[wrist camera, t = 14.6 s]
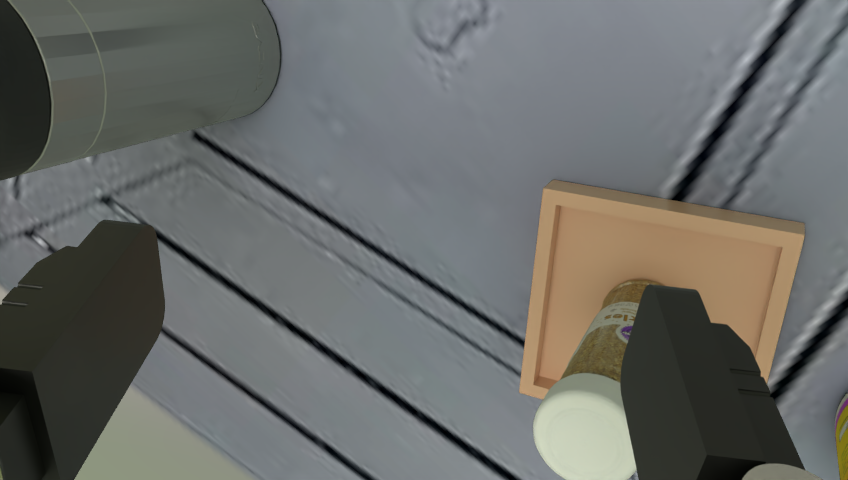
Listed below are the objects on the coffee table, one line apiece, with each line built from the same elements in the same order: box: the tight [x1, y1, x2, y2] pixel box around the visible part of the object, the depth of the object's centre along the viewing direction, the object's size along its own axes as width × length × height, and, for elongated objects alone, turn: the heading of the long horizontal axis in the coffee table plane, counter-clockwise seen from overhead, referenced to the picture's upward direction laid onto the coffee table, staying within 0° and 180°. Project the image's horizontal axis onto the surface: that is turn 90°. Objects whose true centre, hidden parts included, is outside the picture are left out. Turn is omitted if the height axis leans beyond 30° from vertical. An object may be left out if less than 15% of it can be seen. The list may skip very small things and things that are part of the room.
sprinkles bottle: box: [533, 280, 662, 480], centre depth 36 cm, size 5×5×14 cm
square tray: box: [519, 180, 805, 399], centre depth 41 cm, size 13×13×2 cm
